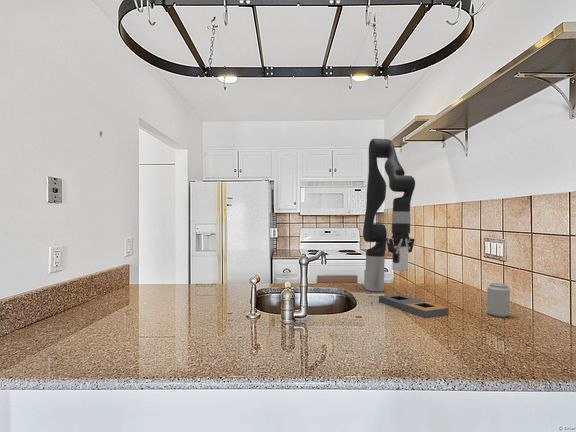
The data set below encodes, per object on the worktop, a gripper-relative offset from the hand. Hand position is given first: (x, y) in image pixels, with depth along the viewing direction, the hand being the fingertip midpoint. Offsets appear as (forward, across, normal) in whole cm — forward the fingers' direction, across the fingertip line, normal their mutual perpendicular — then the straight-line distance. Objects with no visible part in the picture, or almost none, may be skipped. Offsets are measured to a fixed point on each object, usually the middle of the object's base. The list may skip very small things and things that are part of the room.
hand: (400, 262), depth 154 cm
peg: (+3, 0, 0) cm, 3 cm away
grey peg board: (+18, 0, +7) cm, 19 cm away
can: (+18, -24, +28) cm, 41 cm away
